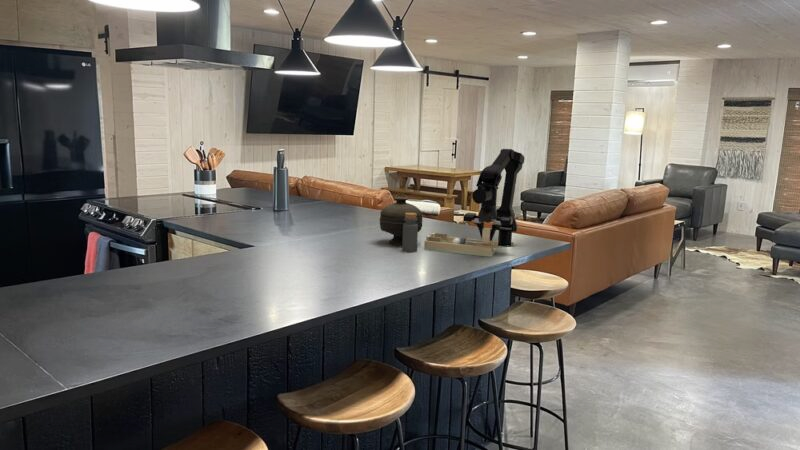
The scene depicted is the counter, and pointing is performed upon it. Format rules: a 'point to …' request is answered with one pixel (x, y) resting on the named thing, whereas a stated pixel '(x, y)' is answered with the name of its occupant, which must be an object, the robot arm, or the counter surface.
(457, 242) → the ball
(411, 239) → the bottle
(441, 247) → the pitch
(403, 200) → the pot
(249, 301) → the counter surface
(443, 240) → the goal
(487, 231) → the tan and grey block
